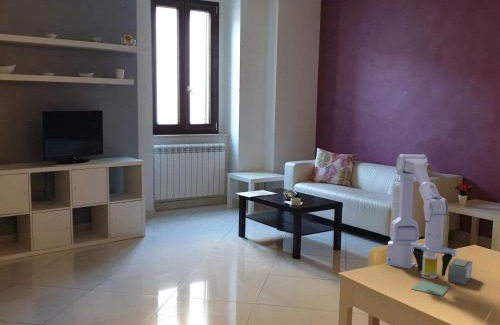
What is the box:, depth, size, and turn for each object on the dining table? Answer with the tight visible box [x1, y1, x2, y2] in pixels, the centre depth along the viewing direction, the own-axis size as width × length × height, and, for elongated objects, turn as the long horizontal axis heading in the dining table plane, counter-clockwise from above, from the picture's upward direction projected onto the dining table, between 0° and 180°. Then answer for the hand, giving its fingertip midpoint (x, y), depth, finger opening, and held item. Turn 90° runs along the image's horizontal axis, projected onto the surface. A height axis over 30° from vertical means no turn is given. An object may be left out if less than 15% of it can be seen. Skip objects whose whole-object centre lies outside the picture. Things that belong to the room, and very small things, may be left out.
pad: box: [411, 280, 450, 297], centre depth 172 cm, size 10×10×1 cm
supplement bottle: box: [419, 251, 438, 280], centre depth 184 cm, size 6×6×10 cm
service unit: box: [447, 258, 473, 286], centre depth 182 cm, size 6×10×6 cm, turn 146°
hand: (431, 273), depth 172 cm, fingers open, 7 cm apart
